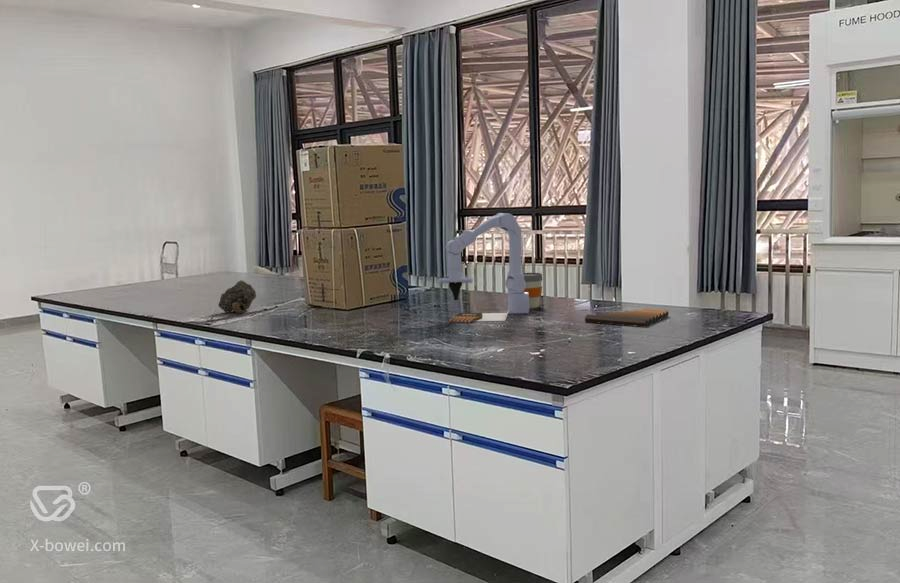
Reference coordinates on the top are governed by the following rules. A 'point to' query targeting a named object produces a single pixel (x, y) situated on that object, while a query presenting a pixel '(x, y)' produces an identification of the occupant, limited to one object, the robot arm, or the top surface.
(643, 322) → the pan flute
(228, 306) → the rock
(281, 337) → the top surface
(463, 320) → the ammunition clip
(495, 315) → the mat
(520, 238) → the robot arm
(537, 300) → the reusable coffee cup
